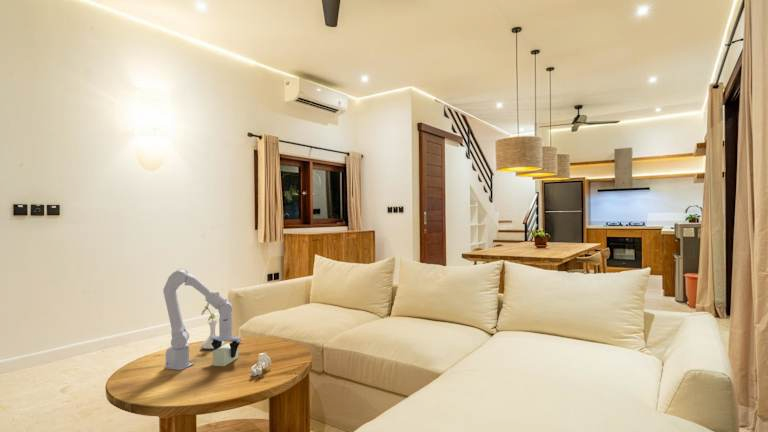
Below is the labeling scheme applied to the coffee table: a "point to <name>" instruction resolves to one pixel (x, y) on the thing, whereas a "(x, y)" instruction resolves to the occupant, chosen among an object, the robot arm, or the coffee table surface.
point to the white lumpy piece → (260, 364)
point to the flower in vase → (212, 323)
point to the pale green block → (223, 355)
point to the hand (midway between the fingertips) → (226, 356)
